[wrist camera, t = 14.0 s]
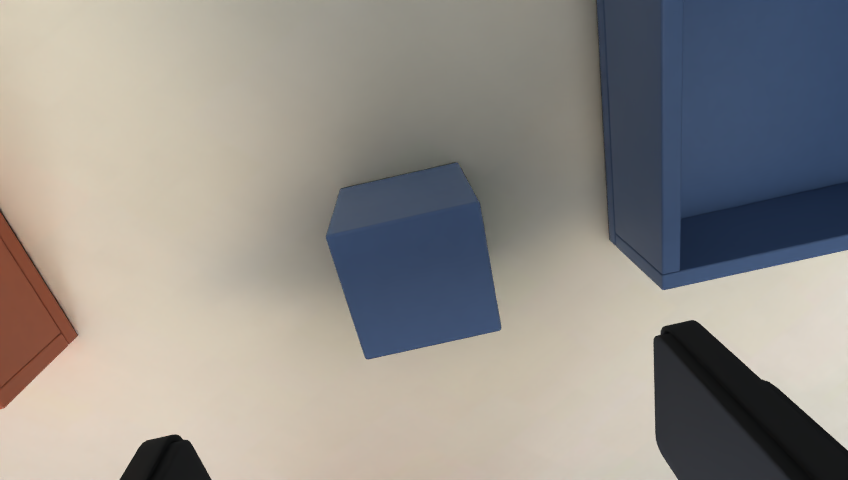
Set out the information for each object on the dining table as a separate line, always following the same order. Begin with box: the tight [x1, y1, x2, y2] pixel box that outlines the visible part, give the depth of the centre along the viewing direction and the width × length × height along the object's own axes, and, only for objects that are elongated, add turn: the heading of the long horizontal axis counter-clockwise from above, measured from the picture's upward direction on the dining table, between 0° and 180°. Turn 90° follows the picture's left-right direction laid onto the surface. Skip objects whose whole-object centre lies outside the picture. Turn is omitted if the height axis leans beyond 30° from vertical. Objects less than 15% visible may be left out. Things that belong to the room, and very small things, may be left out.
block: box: [326, 163, 501, 359], centre depth 16 cm, size 4×4×4 cm
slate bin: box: [597, 0, 848, 290], centre depth 15 cm, size 11×11×4 cm
